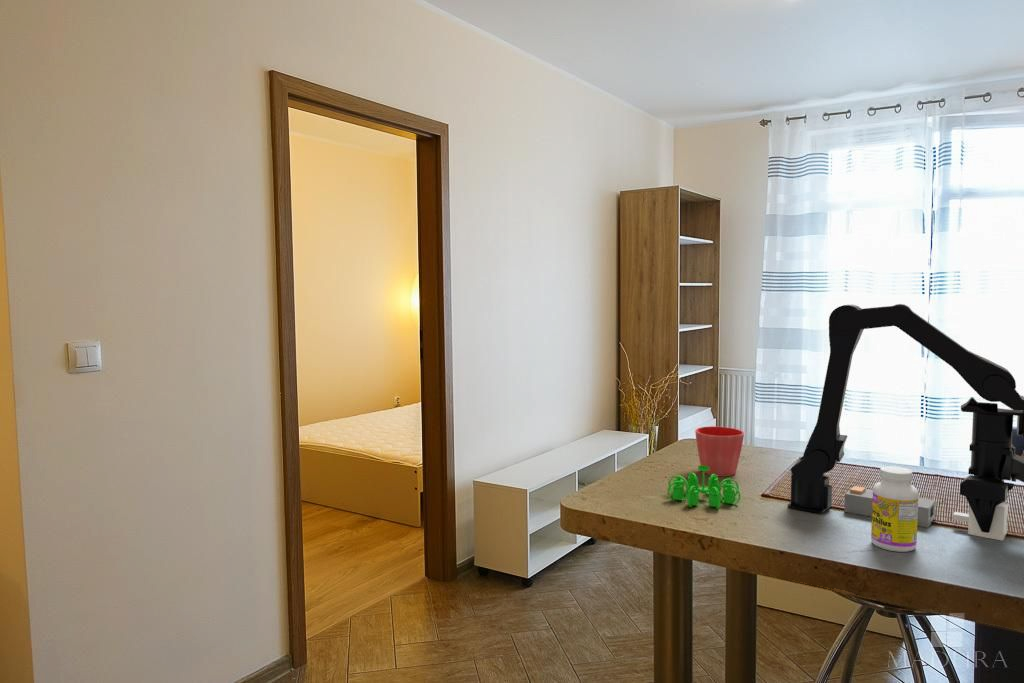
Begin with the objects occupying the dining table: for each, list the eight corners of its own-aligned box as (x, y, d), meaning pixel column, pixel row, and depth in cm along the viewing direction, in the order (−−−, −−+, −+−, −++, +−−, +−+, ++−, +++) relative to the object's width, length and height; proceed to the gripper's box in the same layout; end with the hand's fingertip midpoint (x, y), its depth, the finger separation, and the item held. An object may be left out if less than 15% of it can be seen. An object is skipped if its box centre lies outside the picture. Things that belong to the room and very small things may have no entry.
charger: (950, 530, 124) (952, 500, 124) (955, 523, 128) (956, 493, 127) (1003, 540, 119) (1004, 508, 119) (1006, 533, 123) (1008, 502, 122)
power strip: (844, 511, 135) (845, 490, 134) (853, 504, 139) (854, 483, 139) (928, 527, 126) (928, 505, 125) (934, 519, 130) (935, 497, 130)
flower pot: (749, 477, 159) (750, 435, 158) (701, 478, 159) (701, 435, 158) (735, 466, 170) (736, 426, 169) (689, 466, 170) (690, 426, 169)
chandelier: (752, 497, 145) (753, 464, 144) (726, 517, 133) (726, 481, 132) (683, 485, 154) (683, 454, 153) (653, 503, 142) (653, 469, 141)
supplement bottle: (862, 539, 120) (865, 465, 119) (899, 538, 121) (902, 464, 120) (886, 554, 113) (889, 475, 112) (925, 552, 114) (928, 474, 113)
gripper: (1046, 456, 109) (1040, 554, 110) (1054, 436, 123) (1050, 523, 124) (961, 445, 116) (957, 538, 117) (978, 428, 130) (975, 511, 131)
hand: (987, 527), depth 122 cm, fingers open, 5 cm apart
